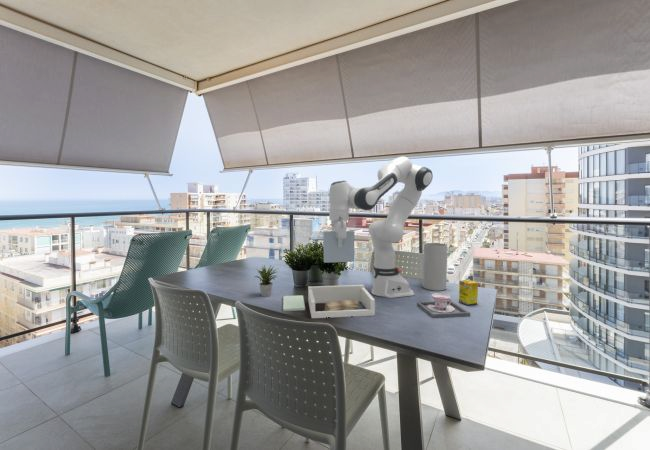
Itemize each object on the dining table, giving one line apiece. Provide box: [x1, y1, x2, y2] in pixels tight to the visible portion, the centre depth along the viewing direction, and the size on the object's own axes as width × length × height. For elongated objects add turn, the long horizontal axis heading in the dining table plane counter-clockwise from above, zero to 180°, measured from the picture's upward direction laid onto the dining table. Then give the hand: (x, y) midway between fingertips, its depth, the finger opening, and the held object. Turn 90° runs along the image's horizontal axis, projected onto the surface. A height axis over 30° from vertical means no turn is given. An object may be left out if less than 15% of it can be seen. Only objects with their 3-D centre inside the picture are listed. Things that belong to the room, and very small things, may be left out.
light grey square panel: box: [323, 230, 356, 264], centre depth 152 cm, size 14×3×14 cm, turn 96°
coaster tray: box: [416, 300, 471, 319], centre depth 150 cm, size 17×17×2 cm
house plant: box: [254, 264, 280, 297], centre depth 173 cm, size 14×14×16 cm
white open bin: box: [307, 284, 376, 319], centre depth 153 cm, size 28×22×8 cm
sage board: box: [282, 294, 306, 312], centre depth 160 cm, size 10×20×1 cm, turn 7°
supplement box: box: [458, 279, 479, 307], centre depth 160 cm, size 6×6×11 cm
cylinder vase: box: [422, 242, 448, 292], centre depth 186 cm, size 12×12×25 cm
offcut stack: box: [323, 300, 360, 311], centre depth 148 cm, size 15×6×4 cm, turn 110°
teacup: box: [427, 292, 456, 313], centre depth 153 cm, size 12×12×6 cm
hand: (339, 246), depth 152 cm, fingers closed on light grey square panel, 3 cm apart
